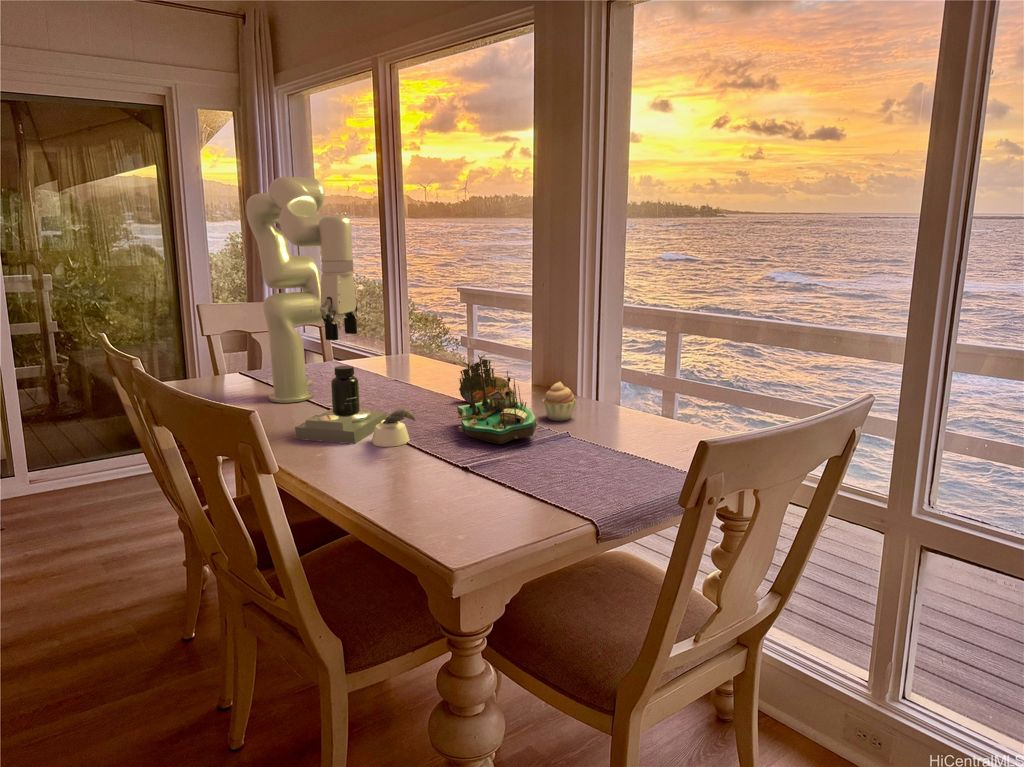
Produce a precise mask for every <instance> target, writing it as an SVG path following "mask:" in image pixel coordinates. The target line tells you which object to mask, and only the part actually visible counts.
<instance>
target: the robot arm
mask: <svg viewBox="0 0 1024 767" xmlns="http://www.w3.org/2000/svg"><path fill="white" fill-rule="evenodd" d="M324 202H325V189H324V186H323V185H322V183H321V182H320V181H319V180H318V179H317V178H315V177H309V176H308V177H306V176H281V177H277V178H275V179H274V180H272V181H271V183H270V184H269V187H268V192H262V193H255V194H252V195H250V197H248V199H247V200H246V206H245V210H246V212H245V213H246V218H247V222H248V225H249V228H250V229H251V232H252V235H253V236H254V238H255V241H256V243H257V249H258V254H259V260H260V264H261V265H260V266H261V272H262V277H263V280H264V283H265V285H266V286H267V287H268V288H269V289H273V290H281V289H283V290H285V289H299V288H300V289H301V290H302V291H295V292H294V291H293V292H292V291H291V292H279V293H274V294H271V295H269V296H267V297H266V298H265V299H264V302H263V304H262V307H263V310H262V311H263V313H264V314H263V315H264V318H265V322H266V327H267V332H268V338H269V339H268V340H269V349H270V350H269V351H270V361H271V372H272V373H271V374H272V384H273V392H272V393H271V394H269V395H268V399H269V401H270V402H273V403H279V404H290V403H298V402H304V401H307V400H310V399H312V398H313V392H312V391H310V390H308V388H309V387H311V386H312V385H314V381H313V379H308V380H307V375H306V362H305V348H304V345H305V344H304V340H303V337H302V335H301V334H300V333H299V332H298V331H297V330H296V329H295V327H294V326H298V325H306V324H314V323H319V322H321V321H322V320H323V322H322V323H323V324H324V333H325V336H324V337H325V340H326V341H338V340H339V328H338V323H337V320H338V317H339V316H342V315H344V316H345V317H344V318H343V319H344V334H347V335H357V334H358V324H357V321H358V320H357V318H358V310H359V308H358V306H359V299H358V298H357V295H356V287H355V280H354V279H355V278H354V261H353V260H354V259H353V258H354V257H353V256H354V255H353V254H354V253H353V239H352V237H353V236H352V223H351V219H350V218H349V217H347V216H340V215H330V214H329V215H325V214H324V215H322V214H321V215H319V214H318V215H317V212H319V210H320V209H321V208H322V207H323V205H324ZM274 224H275V225H274ZM276 224H279V226H280V229H279V228H278V227H277V226H276ZM289 242H290V243H291V244H292V245H293V246H297V247H304V248H305V247H320V259H321V260H320V261H321V276H320V271H319V266H318V264H317V262H316V261H315V259H314V258H313V257H312V256H309V255H304V254H303V255H302V254H300V255H292V254H291V252H290V247H289Z"/></svg>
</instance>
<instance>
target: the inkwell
mask: <svg viewBox="0 0 1024 767" xmlns="http://www.w3.org/2000/svg"><path fill="white" fill-rule="evenodd" d="M405 418H407V419H410V420H413V421H414V422H416V418H415V416H414V415H413V413H412V412H411V411H409V410H408V409H406V408H398V409H396V410H394V411H392V412H391V413H390V414H389V415H387V418H386V419H385V420H382V421H381V423H379V424H377V425H376V426H375V429H374V432H373V433H372V439H371V443H372V445H374V446H376V447H383V448H384V447H385V448H391V447H392V448H393V447H399V446H400V447H401V446H404V445H406V444H408V443H409V442H410V441H411V440H410V435H409V432H408V429H407V426H406V424H405V423H404V422H400V421H403V420H404V419H405ZM407 442H408V443H407Z"/></svg>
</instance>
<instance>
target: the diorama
mask: <svg viewBox="0 0 1024 767" xmlns="http://www.w3.org/2000/svg"><path fill="white" fill-rule="evenodd" d="M477 357H478V359H479V361H478V362H475V363H472V364H470V363H471V362H470V361H468V363H467V362H463V363H462V364H463V365H466V366H467V368H464V369H462V370H460V371H459V373H460V375H461V377H459V384H460V385H461V388H462V389H461V388H460V387H459V388H458V390H459V394H460V397H461V398H463V395H464V394H466V393H468V395H469V393H470V396H471V400H470V403H469V404H464V405H459V406H458V405H457V406H456V409H457V414H458V416H457V418H458V419H461V425H459V426H458V430H459V431H460V432H461V433H464V432H465V433H466V435H467V436H469V437H472V438H475V439H478V440H482V441H484V442H488V443H491V442H492V444H498V445H504V444H507V443H509V442H511V441H512V440H519V439H525V438H528V437H532V436H533V435H534V434H535V431H536V429H537V426H538V425H539V422H538V421H537V419H536V416H535V414H534V413H533V411H532V410H531V408H529V407H527V402H526V401H525V403H524V401H523V399H521V393H520V392H521V391H520V386H519V385H517V387H518V398H519V401H518V398H517V390H516V382H515V379H513V388H511V386H510V382H511V379H512V377H510V376H509V373H508V372H509V371H508V370H506V376H504V379H505V380H506V381H507V384H508V387H506V386H507V385H506V384H505V386H504V388H503V389H501V386H500V390H496V391H494V392H492V393H490V394H488V395H486V393H485V386H484V382H485V385H486V387H487V388H488V386H489V385H490V386H491V387H492V388H493V383H494V389H496V378H494V376H495V373H496V372H495V373H494V370H495V367H493V368H492V365H491V362H492V360H490V359H484V358H483V357H486V355H485V354H484V355H481V357H480V355H479V354H478V355H477ZM470 376H471V380H470ZM483 376H485V378H483ZM491 376H492V377H493V378H491ZM487 377H488V378H487ZM481 378H482V381H481ZM484 379H485V380H484ZM491 379H494V381H493V380H491ZM462 381H463V382H462ZM472 381H473V382H472ZM481 382H482V383H481ZM489 382H490V383H489ZM503 382H504V380H503ZM462 383H463V386H464V387H462ZM466 385H467V386H466ZM468 385H469V386H470V387H469V386H468ZM482 385H483V386H482ZM465 387H466V389H465ZM477 389H478V391H480V390H481V391H483V402H480V403H476V404H475V402H474V399H473V390H474V392H475V391H477ZM465 390H466V391H465ZM486 396H487V397H489V400H487V397H486Z"/></svg>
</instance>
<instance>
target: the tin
mask: <svg viewBox="0 0 1024 767" xmlns="http://www.w3.org/2000/svg"><path fill="white" fill-rule="evenodd" d="M483 378H485V376H484V375H483ZM487 378H488V377H487ZM491 378H493V377H492V375H491ZM494 378H496V389H494V383H493V388H492V387H491V386H490V385H489V386H488V388H487V387H486V385H485V382H484V386H485V393H486V395H488V394H490V393H492V392H494V391H496V390H500V386H501V389H503V388H504V386H505V384H506V385H507V386H506V387H508V384H507V381H506V380H507V379H506V378H504V377H502V376H497V375H496V376H495V375H494ZM505 379H506V380H505ZM470 380H471V375H470ZM484 380H485V379H484ZM491 380H493V381H494V379H491ZM503 380H504V382H503ZM481 381H482V378H481ZM462 382H463V381H462ZM472 382H473V381H472ZM481 383H482V382H481ZM489 383H490V382H489ZM466 386H467V385H466ZM468 386H469V385H468ZM482 386H483V385H482ZM462 387H464V386H463V383H462ZM469 387H470V386H469ZM459 388H461V385H460V386H459ZM461 389H462V388H461ZM465 389H466V387H465ZM465 391H466V390H465ZM486 397H487V396H486ZM462 398H463V400H464V401H465V402H466V403H468V404H470V400H471V396H470V393H469V395H468V393H466V394H464V395H463V397H462ZM473 399H474V402H475V404H476V403H480V402H483V391H481V390H480V391H478V389H477V391H475V392H474V390H473ZM487 400H489V397H487Z"/></svg>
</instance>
